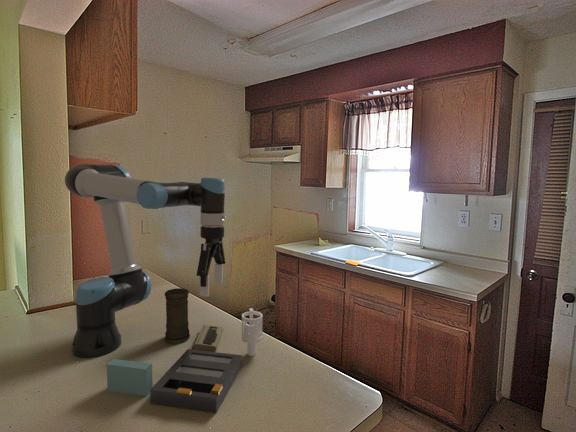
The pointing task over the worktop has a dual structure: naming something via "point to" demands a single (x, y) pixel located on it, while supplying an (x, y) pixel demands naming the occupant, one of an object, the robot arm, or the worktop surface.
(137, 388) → the panel
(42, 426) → the worktop surface
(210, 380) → the rack
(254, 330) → the white ringed cylinder
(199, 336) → the computer
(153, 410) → the worktop surface
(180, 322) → the container
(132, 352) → the worktop surface
